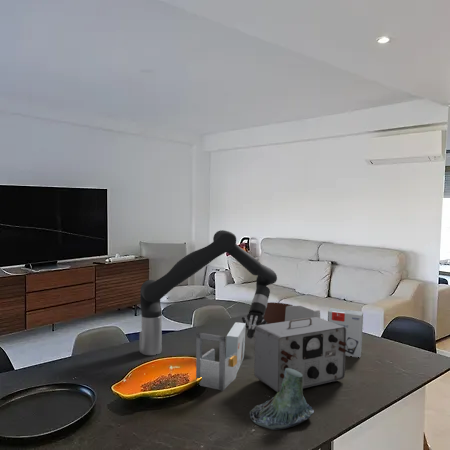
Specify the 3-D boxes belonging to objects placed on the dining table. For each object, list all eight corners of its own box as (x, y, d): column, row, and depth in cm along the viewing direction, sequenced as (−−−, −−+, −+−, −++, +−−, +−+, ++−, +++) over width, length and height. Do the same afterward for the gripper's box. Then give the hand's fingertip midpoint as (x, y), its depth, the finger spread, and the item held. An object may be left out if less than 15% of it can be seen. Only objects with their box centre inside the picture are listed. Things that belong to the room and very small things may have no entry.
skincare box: (237, 375, 174) (238, 336, 173) (224, 374, 175) (224, 335, 174) (245, 357, 194) (246, 322, 193) (233, 356, 195) (234, 321, 194)
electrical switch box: (321, 346, 216) (324, 306, 218) (311, 350, 204) (314, 307, 205) (294, 340, 224) (297, 302, 226) (282, 344, 212) (286, 303, 213)
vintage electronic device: (280, 400, 152) (282, 331, 151) (254, 381, 168) (255, 318, 167) (348, 383, 167) (350, 320, 165) (317, 367, 183) (319, 309, 181)
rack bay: (196, 384, 164) (196, 333, 163) (211, 372, 176) (212, 324, 175) (224, 391, 159) (225, 338, 158) (238, 377, 171) (239, 328, 170)
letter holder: (293, 329, 238) (293, 304, 237) (257, 326, 242) (258, 302, 241) (293, 324, 248) (294, 299, 247) (259, 321, 252) (260, 298, 251)
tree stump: (247, 403, 151) (261, 354, 150) (303, 418, 150) (316, 369, 150) (248, 428, 132) (263, 372, 132) (311, 446, 132) (326, 389, 131)
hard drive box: (326, 353, 200) (327, 311, 199) (328, 348, 207) (329, 307, 206) (360, 358, 194) (362, 314, 193) (362, 352, 201) (363, 310, 200)
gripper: (244, 300, 209) (234, 331, 199) (270, 302, 204) (261, 335, 194) (248, 308, 215) (238, 339, 204) (273, 311, 209) (264, 343, 199)
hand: (249, 337), depth 199 cm, fingers closed
